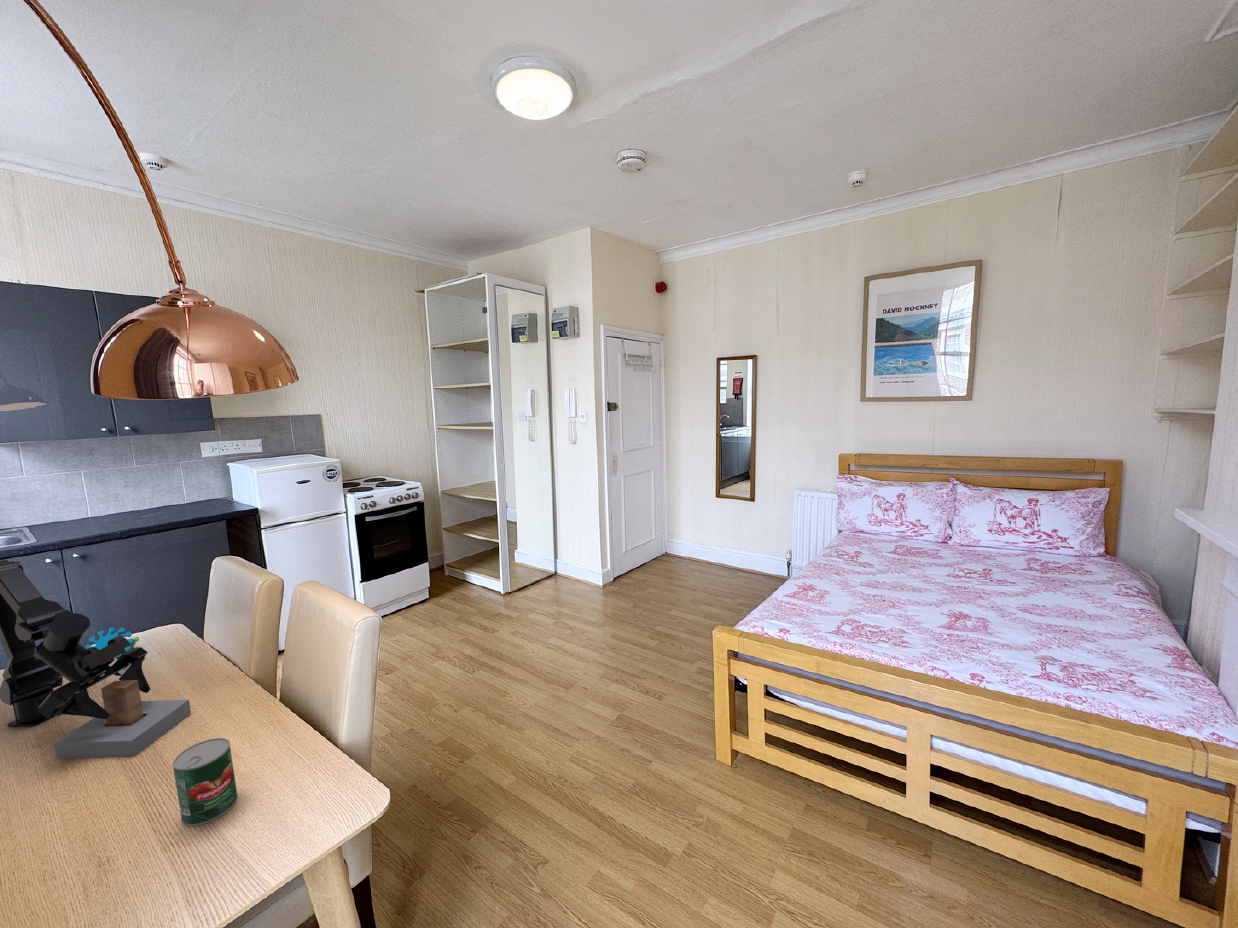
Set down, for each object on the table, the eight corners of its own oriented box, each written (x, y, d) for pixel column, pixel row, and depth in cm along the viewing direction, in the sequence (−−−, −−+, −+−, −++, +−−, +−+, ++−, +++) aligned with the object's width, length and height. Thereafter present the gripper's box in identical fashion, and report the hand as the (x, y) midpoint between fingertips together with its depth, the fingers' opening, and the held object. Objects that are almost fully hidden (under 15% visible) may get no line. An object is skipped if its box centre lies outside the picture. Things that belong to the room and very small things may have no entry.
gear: (81, 663, 138) (87, 629, 143) (83, 671, 141) (89, 638, 147) (136, 654, 145) (140, 623, 150) (137, 663, 148) (141, 631, 154)
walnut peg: (110, 739, 108) (101, 688, 107) (123, 730, 111) (114, 680, 110) (133, 738, 109) (124, 687, 107) (146, 729, 111) (137, 680, 110)
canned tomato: (208, 790, 93) (199, 737, 92) (248, 790, 93) (241, 737, 92) (168, 826, 86) (159, 769, 84) (213, 826, 85) (204, 769, 84)
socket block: (56, 758, 103) (53, 742, 102) (122, 715, 117) (120, 701, 116) (134, 756, 103) (131, 740, 103) (191, 713, 117) (188, 699, 116)
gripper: (42, 655, 97) (108, 705, 99) (133, 613, 116) (187, 656, 117) (9, 693, 98) (75, 742, 100) (105, 646, 117) (159, 688, 118)
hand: (129, 703), depth 109 cm, fingers open, 9 cm apart
